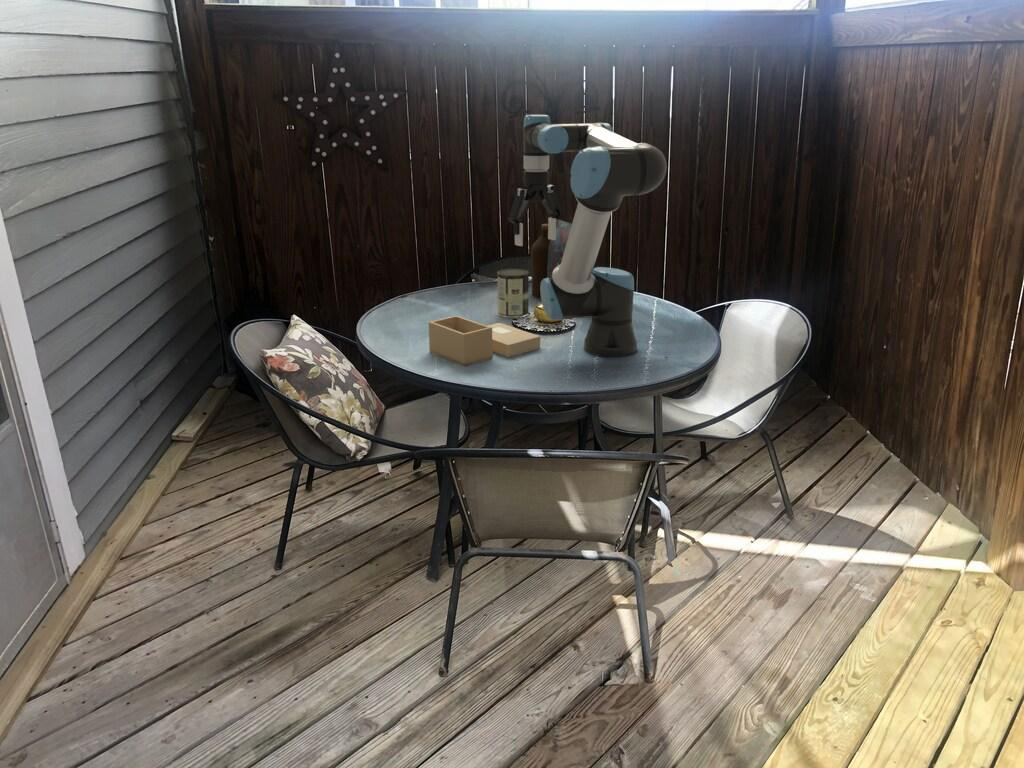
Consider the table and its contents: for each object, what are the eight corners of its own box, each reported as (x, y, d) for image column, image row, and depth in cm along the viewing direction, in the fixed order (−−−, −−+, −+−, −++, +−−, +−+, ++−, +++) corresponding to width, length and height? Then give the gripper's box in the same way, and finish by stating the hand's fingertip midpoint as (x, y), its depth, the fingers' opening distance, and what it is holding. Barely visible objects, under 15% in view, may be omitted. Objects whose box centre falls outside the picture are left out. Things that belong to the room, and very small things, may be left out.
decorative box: (566, 298, 296) (568, 218, 286) (589, 309, 282) (592, 226, 272) (545, 300, 292) (546, 220, 282) (567, 312, 278) (569, 228, 268)
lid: (540, 348, 243) (540, 335, 242) (508, 357, 236) (508, 344, 234) (499, 334, 256) (499, 322, 255) (467, 342, 249) (467, 330, 247)
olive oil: (534, 299, 294) (535, 228, 285) (527, 292, 304) (527, 222, 295) (563, 297, 296) (565, 226, 288) (555, 290, 306) (556, 221, 297)
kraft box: (492, 358, 235) (492, 327, 232) (464, 366, 229) (463, 334, 225) (457, 345, 246) (456, 315, 243) (429, 352, 240) (428, 321, 237)
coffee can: (517, 308, 284) (517, 267, 279) (535, 315, 276) (535, 272, 271) (491, 312, 278) (491, 271, 273) (508, 320, 270) (508, 277, 265)
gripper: (558, 165, 256) (556, 235, 263) (495, 172, 240) (495, 246, 248) (575, 167, 251) (573, 238, 258) (512, 174, 235) (512, 249, 243)
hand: (535, 242), depth 253 cm, fingers open, 13 cm apart
